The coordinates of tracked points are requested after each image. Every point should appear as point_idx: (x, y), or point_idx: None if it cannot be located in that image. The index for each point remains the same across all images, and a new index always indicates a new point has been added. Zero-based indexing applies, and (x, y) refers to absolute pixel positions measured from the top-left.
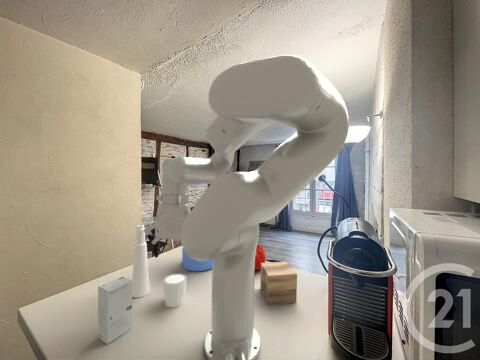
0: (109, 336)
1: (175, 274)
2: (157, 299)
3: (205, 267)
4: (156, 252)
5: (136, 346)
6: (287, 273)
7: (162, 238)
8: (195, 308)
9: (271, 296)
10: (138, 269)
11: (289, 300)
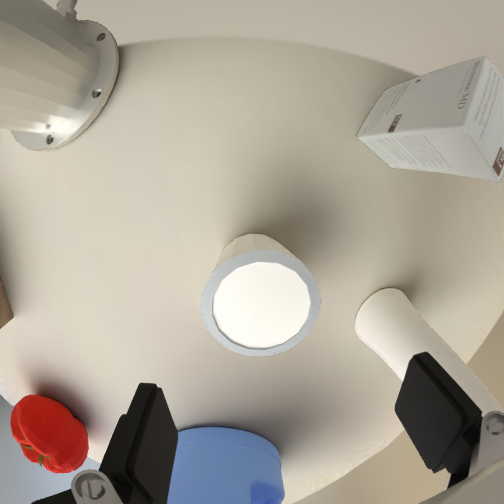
0: (392, 88)
1: (269, 348)
2: (320, 281)
3: (188, 435)
4: (437, 374)
5: (310, 67)
6: None
7: (480, 477)
8: (165, 224)
9: None
10: (435, 345)
11: None
